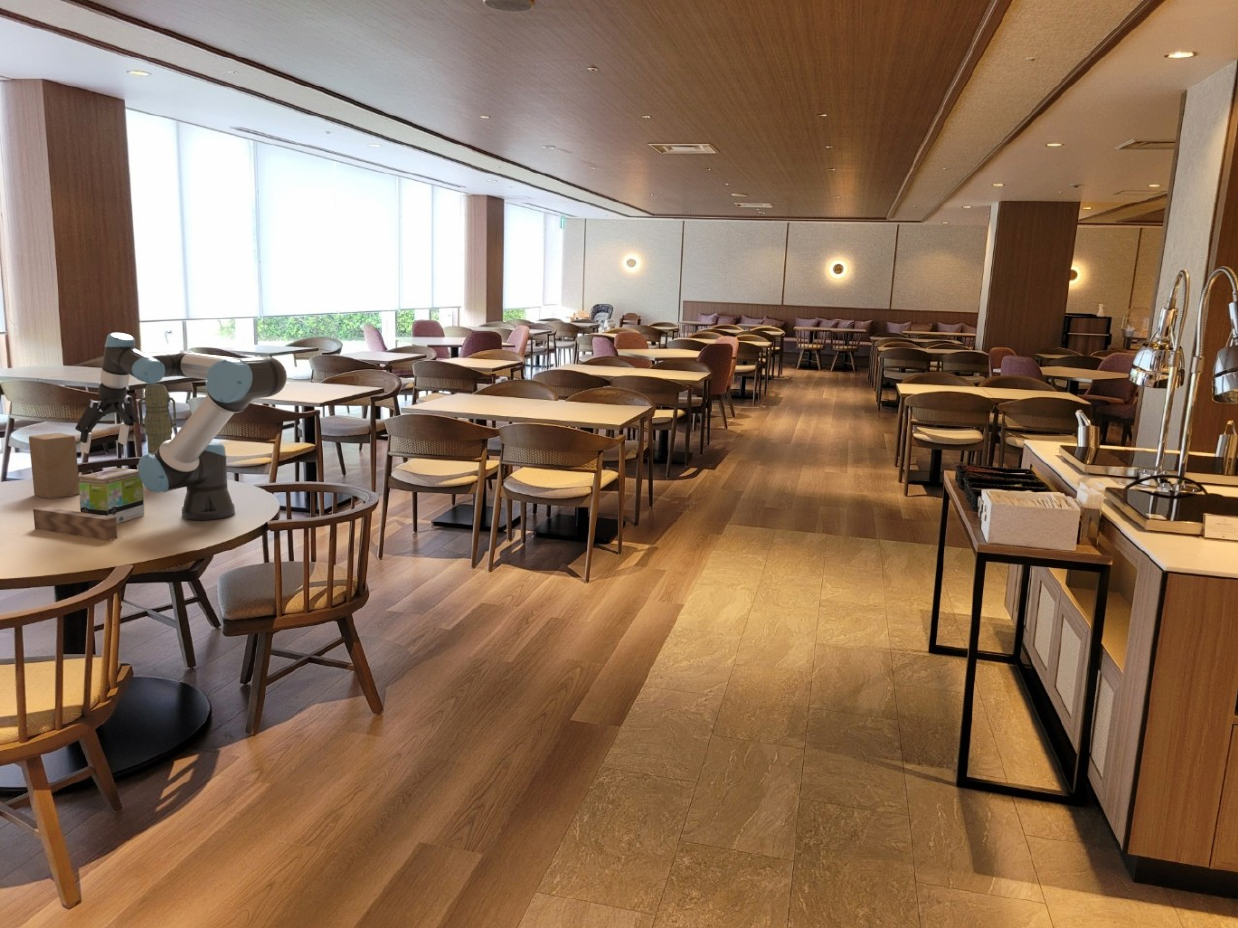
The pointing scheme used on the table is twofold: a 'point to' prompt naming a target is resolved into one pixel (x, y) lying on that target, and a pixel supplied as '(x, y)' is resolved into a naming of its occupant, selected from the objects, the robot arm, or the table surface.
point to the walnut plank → (75, 523)
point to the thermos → (156, 416)
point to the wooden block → (54, 465)
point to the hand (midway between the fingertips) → (103, 447)
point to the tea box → (112, 494)
